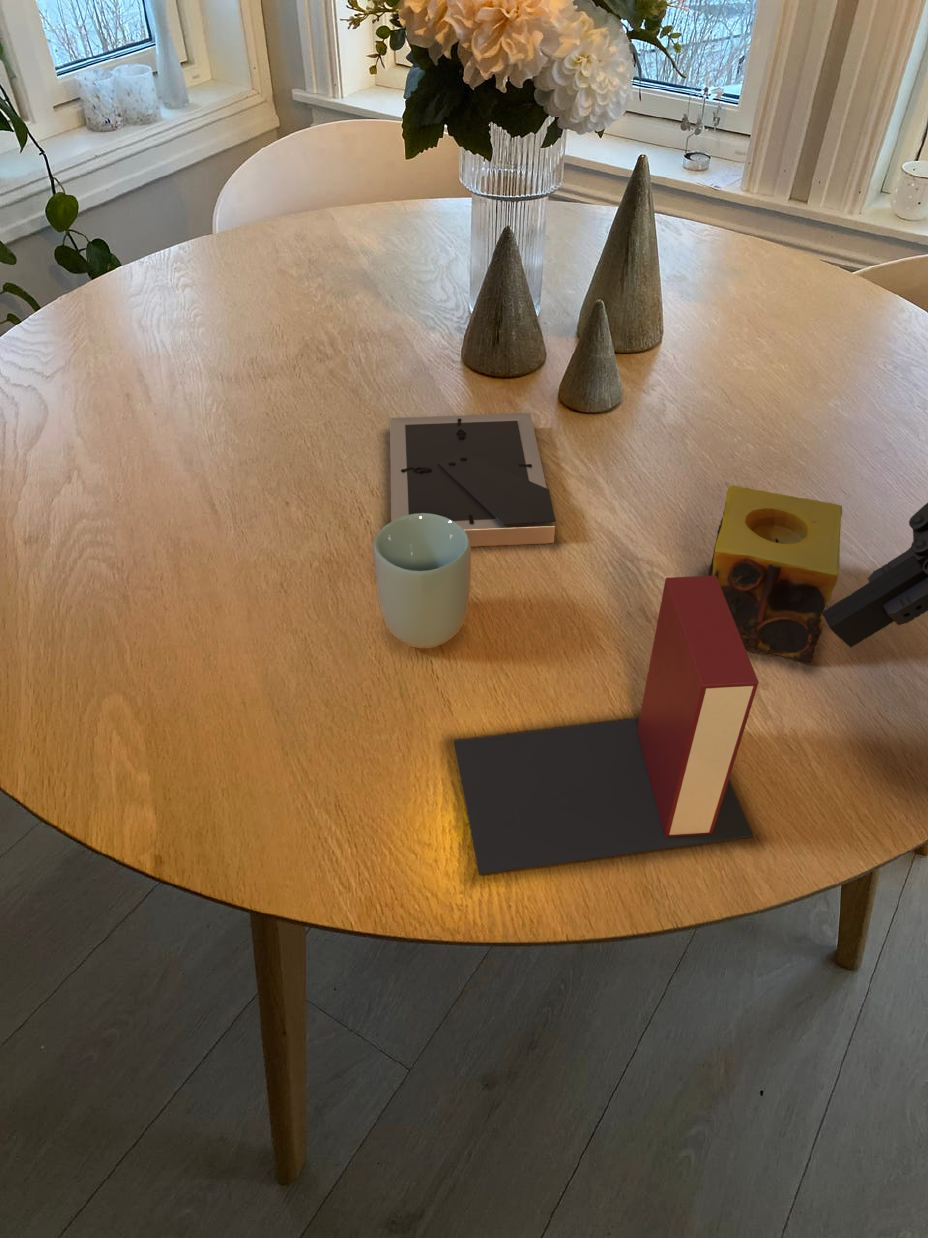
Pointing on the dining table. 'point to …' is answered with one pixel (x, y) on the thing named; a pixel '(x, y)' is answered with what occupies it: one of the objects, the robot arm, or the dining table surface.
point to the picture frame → (473, 476)
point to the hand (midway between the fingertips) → (836, 630)
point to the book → (694, 704)
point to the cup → (423, 578)
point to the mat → (569, 798)
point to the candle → (777, 568)
